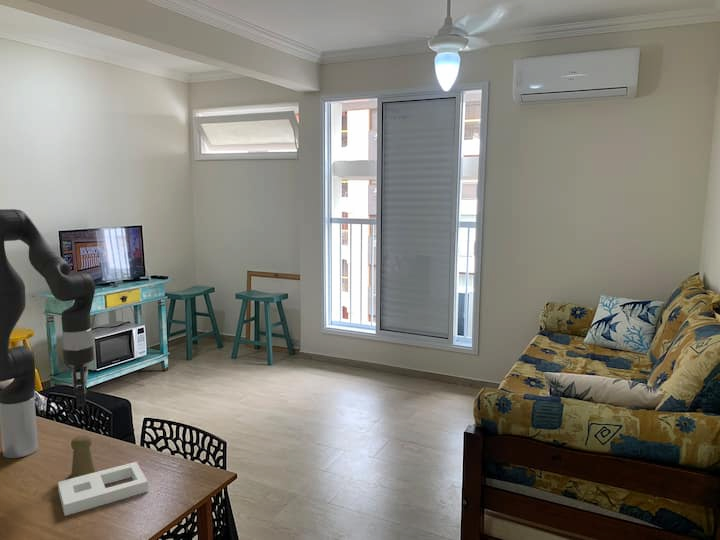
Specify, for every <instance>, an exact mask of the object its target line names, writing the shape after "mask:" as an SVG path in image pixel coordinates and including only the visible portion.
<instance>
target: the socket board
mask: <svg viewBox="0 0 720 540" xmlns="http://www.w3.org/2000/svg"><path fill="white" fill-rule="evenodd" d="M129 478H131V479H132V480H131V481H127V482H124V483H120V484H115V485H114V486H113V485H112V486H110V487H106V486H105V485H107V484H112V483H114V482H118V481H122V480H125V479H129ZM148 483H149V482H148V480H147V478H146V475H145V474H144V472H143V470H142V469H141V467H140V466H139V463H138V462H137V461H134V462H130V463H126V464H123V465H118V466H114V467H110V468H107V469H102V470H99V471H95V472H94V473H91V474H87V475H83V476H79V477H75V478H73V477H71V478H67V479H64V480H59V481H57V485H58V486H57V487H58V495H59V499H60V503H61V507H62V510H63V516H70V515H72V514H76V513H80V512H84V511H87V510H90V509H93V508H97V507H101V506H105V505H108V504H110V503H114V502H117V501H121V500H124V499H125V500H126V499H128V498H132V497H134V495H135V496H138V495H141V493H142V494H146V493H149V484H148ZM137 494H138V495H137ZM131 496H132V497H131Z"/></svg>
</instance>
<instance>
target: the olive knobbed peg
mask: <svg viewBox="0 0 720 540" xmlns="http://www.w3.org/2000/svg"><path fill="white" fill-rule="evenodd" d="M70 446H71V449H72V451H73V452H72V453H73V454H72V461H71V462H72V463H71V474H70V476H71V478H75V477H79V476H83V475H87V474H91V473H94V472H96V471H95V470H96V469H95V466H94V461H93V457H92V452H91V448H90V447H91V446H92V438H91V436H90V435H86V434H82V435H78V436H75V437H73V438H72V440H71V442H70Z"/></svg>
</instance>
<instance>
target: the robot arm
mask: <svg viewBox="0 0 720 540" xmlns="http://www.w3.org/2000/svg"><path fill="white" fill-rule="evenodd" d="M13 241H14V242H15V241H21V242H23V243H24V244H26V245H27V246H28V260H29V263H30V265H31V266H32V267H33V269H34V270H35V271H37V273H38V274H39V275H40V276H41V277H42V278H44V279H45V282H46V284H47V285H48V287H49V289H50V292H51V294H52V296H53V297H54V298H55V299H56V300H58V301H60V302H71V301H74V302H73V304H72V305H71V306H70V307H68V308H66V309H65V310H64V309H63V311H62V312H61V315H60V316H61V330H62V333H61V334H62V336H61V343H62V344H61V345H62V354H63V355H62V357H63V363H64V364H65V365H67V366H73V367H71V373H70V374H71V378H72V387H73V393H74V395H75V401H76V402H75V403H76V407H77V408H81V407H82V408H83V407H85V406H86V402H87V401H86V396H88V390H87V388H88V387H87V385H88V378H89V376H88V375H89V374H88V372H89V367H88V365H87V364H89V363H91V362H93V361H94V359H95V353H94V340H93V339H94V338H93V333H92V325H91V311H92V306H93V301H94V298H95V294H96V293H95V291H96V286H95V280H94V279H93V278H92V276H91V275H90V274H88V273H81V272H80V273H74V274H70V273H71V266H70V264H69V263H68V262H67V261H66V260H65V259H64V258H63V257H62V256H61V255H60V254H59V253H58V252H56V251H55V249H53V248H52V247H51V246H50V244H49V243H48V241H46V239H45V237H44V236H43V234H42V233H41V231H40V230H39V229H38V228H37V226H36V225H35V223H34V221H32V219H31V218H30V217H29V215H28V214H26V212H24V211H23V210H21V209H16V208H15V209H14V208H11V209H9V208H8V209H7V208H6V209H0V383H2V382H7V381H9V380H12V381H11V382H10V383H9V384H8V385H6V386H5V387H4V388H3V389H1V390H0V432H1V435H0V436H1V444H2V445H1V447H2V456H3V457H4V458H7V459H17V458H18V459H19V458H22V457H27V456H30V455H31V454H34V453H35V452H36V451H37V450H38V448H39V446H38V445H39V442H38V430H37V413H36V401H35V390H36V360H35V355H34V352H33V351H32V349H31V348H30V347H29V346H27V345H18V346H15V347H9V345H10V338H11V335H12V333H13V330H14V328H15V327H16V325H17V323H18V321H20V318H21V317H22V315H23V313H24V311H25V308H26V304H27V303H26V286H25V282H24V280H23V279H22V277H21V276H20V274H19V272H17V270H16V269H15V268H14V267H13V265H12V264H11V262H10V261H9V259H8V257H7V254H6V253H7V252H6V249H5V242H13Z"/></svg>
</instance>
